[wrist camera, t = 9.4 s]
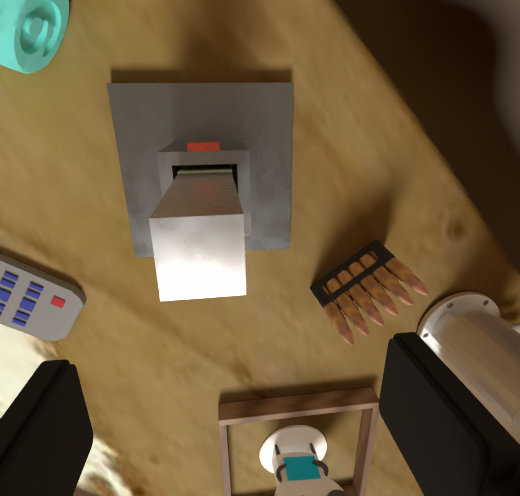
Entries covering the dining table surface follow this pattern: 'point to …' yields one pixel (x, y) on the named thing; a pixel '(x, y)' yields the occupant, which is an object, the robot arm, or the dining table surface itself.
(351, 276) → the ammunition clip
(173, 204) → the column
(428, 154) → the dining table surface
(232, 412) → the frame
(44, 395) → the robot arm
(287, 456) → the panda figurine
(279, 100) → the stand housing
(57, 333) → the remote control
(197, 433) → the dining table surface
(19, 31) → the decorative dice
